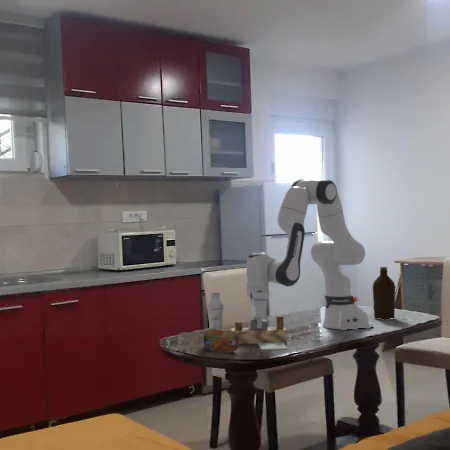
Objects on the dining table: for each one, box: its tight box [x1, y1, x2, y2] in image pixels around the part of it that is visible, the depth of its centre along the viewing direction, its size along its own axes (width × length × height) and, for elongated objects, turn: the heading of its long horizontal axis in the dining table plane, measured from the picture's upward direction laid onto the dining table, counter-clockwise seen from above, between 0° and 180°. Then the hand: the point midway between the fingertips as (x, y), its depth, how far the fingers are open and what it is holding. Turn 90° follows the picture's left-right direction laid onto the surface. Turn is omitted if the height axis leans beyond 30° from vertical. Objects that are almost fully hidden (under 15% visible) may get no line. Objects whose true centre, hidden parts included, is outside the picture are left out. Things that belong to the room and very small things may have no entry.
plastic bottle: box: [207, 292, 225, 330], centre depth 236 cm, size 6×7×20 cm
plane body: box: [230, 315, 288, 345], centre depth 236 cm, size 22×7×10 cm, turn 94°
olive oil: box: [372, 266, 396, 319], centre depth 282 cm, size 11×11×25 cm
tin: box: [203, 329, 240, 354], centre depth 220 cm, size 15×3×8 cm, turn 56°
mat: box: [257, 342, 288, 351], centre depth 226 cm, size 10×10×1 cm
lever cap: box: [248, 317, 269, 330], centre depth 236 cm, size 7×4×4 cm, turn 94°
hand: (258, 326), depth 236 cm, fingers closed on lever cap, 4 cm apart
